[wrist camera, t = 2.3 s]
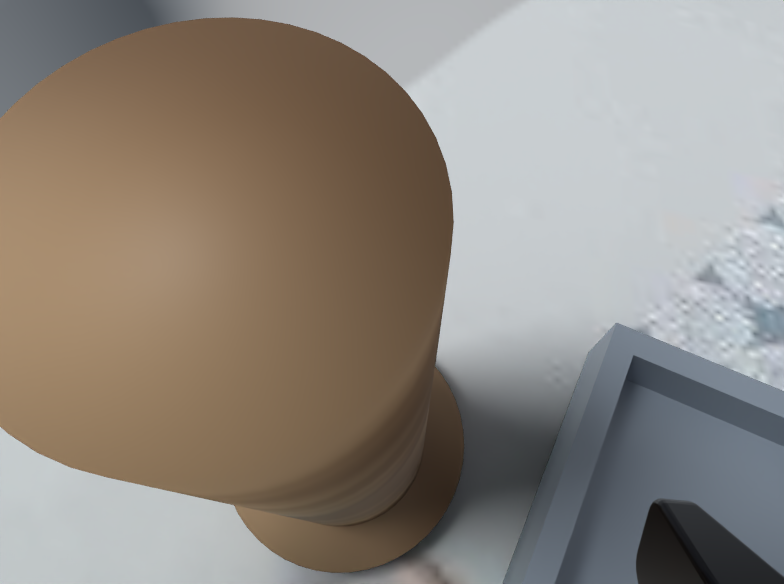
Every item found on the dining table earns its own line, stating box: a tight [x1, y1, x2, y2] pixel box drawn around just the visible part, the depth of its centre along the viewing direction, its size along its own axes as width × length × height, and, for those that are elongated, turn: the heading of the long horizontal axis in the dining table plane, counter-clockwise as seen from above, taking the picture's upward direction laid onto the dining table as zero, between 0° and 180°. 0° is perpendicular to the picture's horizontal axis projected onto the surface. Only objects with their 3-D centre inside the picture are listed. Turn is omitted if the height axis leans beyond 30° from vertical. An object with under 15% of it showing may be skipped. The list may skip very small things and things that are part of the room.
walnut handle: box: [0, 18, 464, 573], centre depth 11 cm, size 6×6×12 cm
